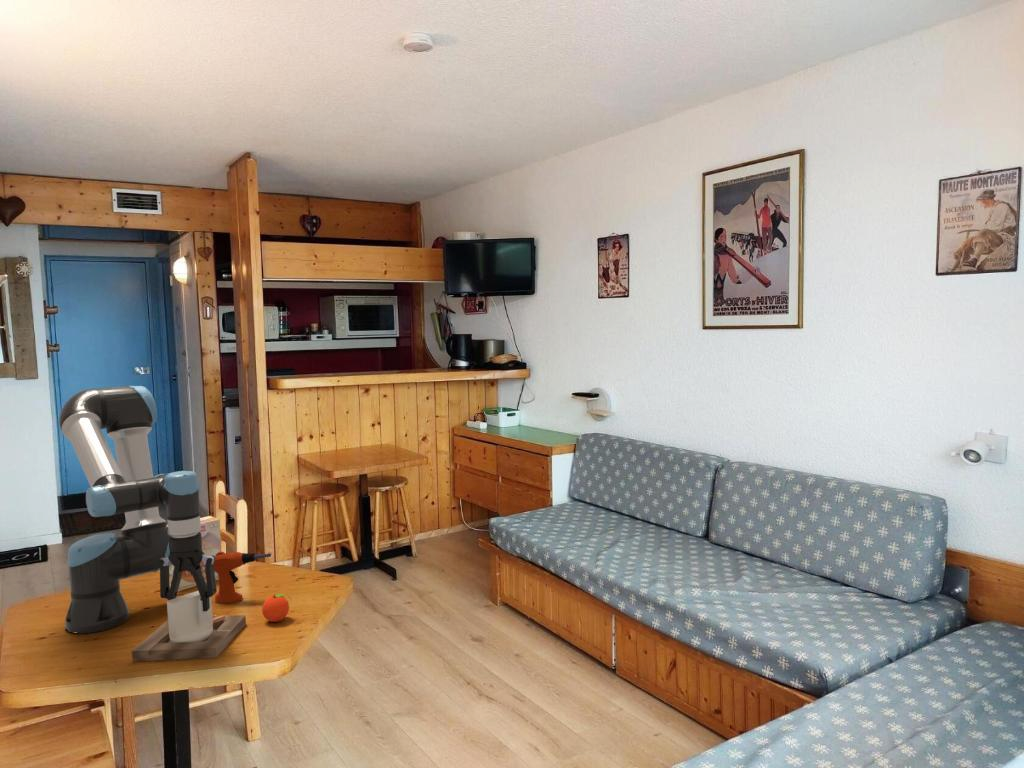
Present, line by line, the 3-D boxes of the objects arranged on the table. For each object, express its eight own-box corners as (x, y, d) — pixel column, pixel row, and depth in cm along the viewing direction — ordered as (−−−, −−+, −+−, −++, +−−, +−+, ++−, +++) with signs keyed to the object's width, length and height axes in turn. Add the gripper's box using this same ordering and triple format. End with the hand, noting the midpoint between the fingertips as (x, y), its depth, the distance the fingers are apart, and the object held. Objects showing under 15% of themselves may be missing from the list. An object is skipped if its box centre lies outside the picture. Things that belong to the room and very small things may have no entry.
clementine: (286, 612, 200) (284, 587, 200) (298, 619, 195) (296, 593, 195) (258, 621, 195) (256, 595, 194) (269, 628, 190) (268, 601, 189)
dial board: (132, 661, 173) (131, 650, 172) (170, 627, 193) (169, 617, 192) (216, 658, 173) (215, 647, 173) (245, 624, 193) (245, 614, 193)
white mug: (184, 650, 176) (181, 606, 175) (162, 641, 182) (159, 598, 181) (235, 629, 187) (232, 588, 186) (213, 621, 193) (210, 581, 192)
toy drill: (275, 598, 207) (265, 547, 206) (212, 606, 209) (203, 556, 208) (281, 592, 212) (272, 542, 211) (220, 600, 214) (211, 551, 213)
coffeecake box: (177, 592, 219) (172, 529, 218) (166, 587, 224) (162, 525, 223) (224, 578, 231) (220, 518, 229) (213, 574, 235) (209, 515, 234)
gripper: (228, 528, 184) (233, 616, 186) (154, 530, 184) (160, 619, 186) (216, 536, 177) (221, 628, 179) (139, 539, 177) (145, 631, 179)
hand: (190, 623), depth 182 cm, fingers closed on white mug, 6 cm apart
